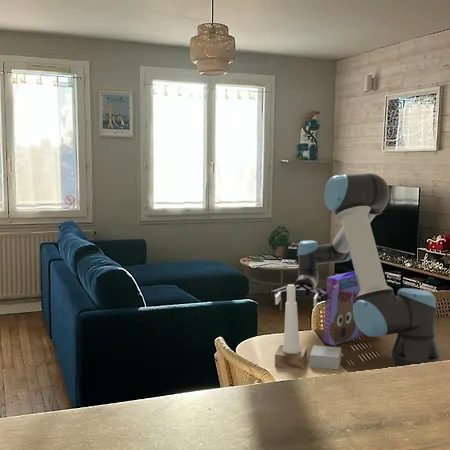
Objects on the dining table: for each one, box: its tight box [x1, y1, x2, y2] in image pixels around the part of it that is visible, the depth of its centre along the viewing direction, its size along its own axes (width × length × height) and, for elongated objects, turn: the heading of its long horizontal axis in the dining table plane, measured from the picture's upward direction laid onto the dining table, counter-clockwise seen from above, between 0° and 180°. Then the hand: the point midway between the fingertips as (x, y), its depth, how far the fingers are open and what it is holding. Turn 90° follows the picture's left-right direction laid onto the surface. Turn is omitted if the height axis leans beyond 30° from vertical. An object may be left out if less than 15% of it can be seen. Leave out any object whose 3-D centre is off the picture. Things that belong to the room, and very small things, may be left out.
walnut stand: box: [274, 344, 308, 370], centre depth 184 cm, size 9×9×4 cm
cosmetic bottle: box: [282, 283, 301, 354], centre depth 183 cm, size 6×6×22 cm
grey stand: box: [309, 345, 342, 370], centre depth 183 cm, size 9×9×4 cm
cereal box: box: [322, 270, 364, 347], centre depth 203 cm, size 17×5×24 cm, turn 132°
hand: (295, 301), depth 192 cm, fingers open, 12 cm apart
